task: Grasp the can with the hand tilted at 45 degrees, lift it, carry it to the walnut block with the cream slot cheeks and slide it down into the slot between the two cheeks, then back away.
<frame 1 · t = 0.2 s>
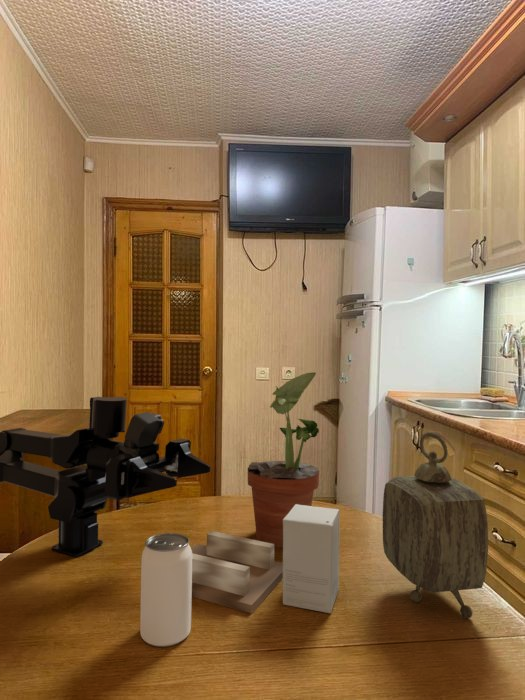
hand: (193, 475, 76), 17 cm above the table, tool horizontal, fingers open, 9 cm apart
supplement box: (311, 598, 71), on the table
slot block: (220, 577, 77), on the table
can: (165, 634, 62), on the table
tabletop clock: (427, 601, 71), on the table
potted plant: (282, 535, 95), on the table
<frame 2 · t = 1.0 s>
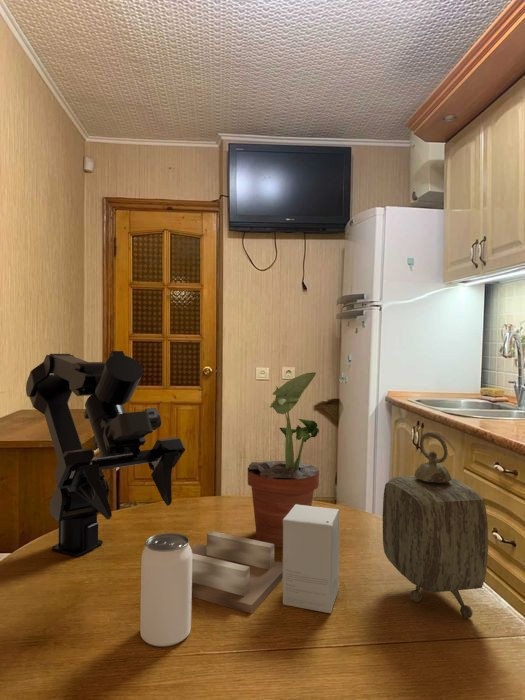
hand: (140, 510, 68), 14 cm above the table, tool tilted 45°, fingers open, 9 cm apart
nothing on the table moved.
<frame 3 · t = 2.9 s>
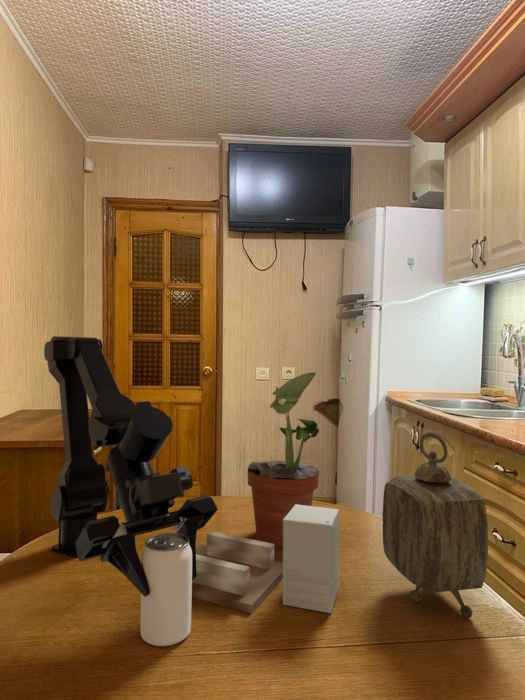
hand: (171, 586, 61), 7 cm above the table, tool tilted 45°, fingers closed on can, 6 cm apart
can: (165, 634, 62), on the table, touching gripper
everything else where it was.
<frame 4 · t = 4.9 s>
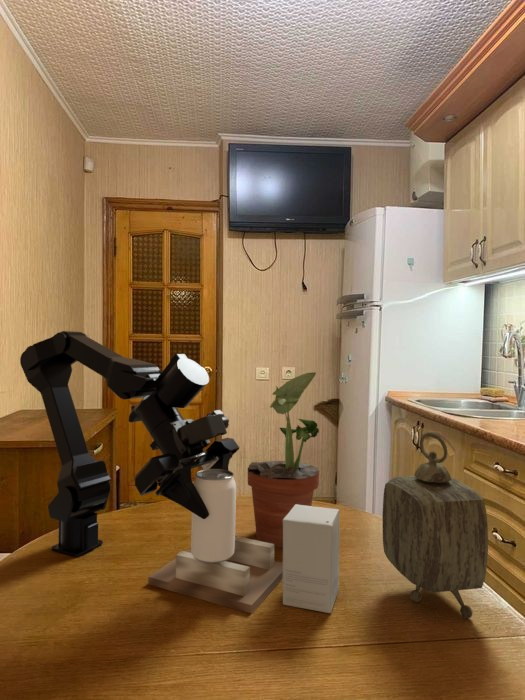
hand: (220, 510, 70), 13 cm above the table, tool tilted 45°, fingers closed on can, 6 cm apart
can: (212, 555, 71), point 6 cm above the table, touching gripper
everything else where it was.
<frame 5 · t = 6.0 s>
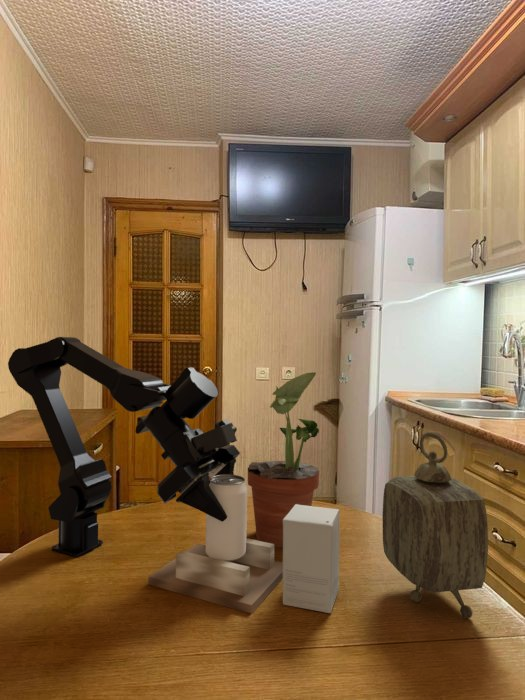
hand: (234, 512, 76), 11 cm above the table, tool tilted 45°, fingers closed on can, 6 cm apart
can: (225, 554, 77), point 4 cm above the table, touching gripper
everything else where it was.
when the fingers open (9 cm above the table, at t = 6.9 s): can stays where it is, resting on slot block.
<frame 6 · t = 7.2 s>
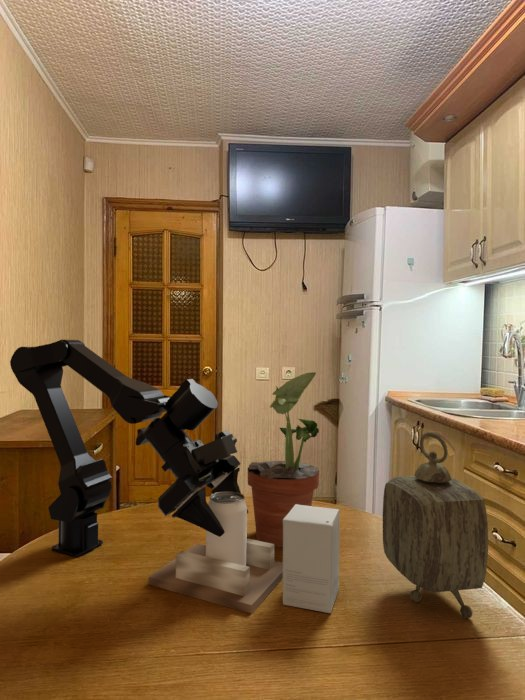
hand: (235, 524, 76), 9 cm above the table, tool tilted 45°, fingers open, 9 cm apart
can: (225, 572, 77), point 1 cm above the table, touching slot block
everything else where it was.
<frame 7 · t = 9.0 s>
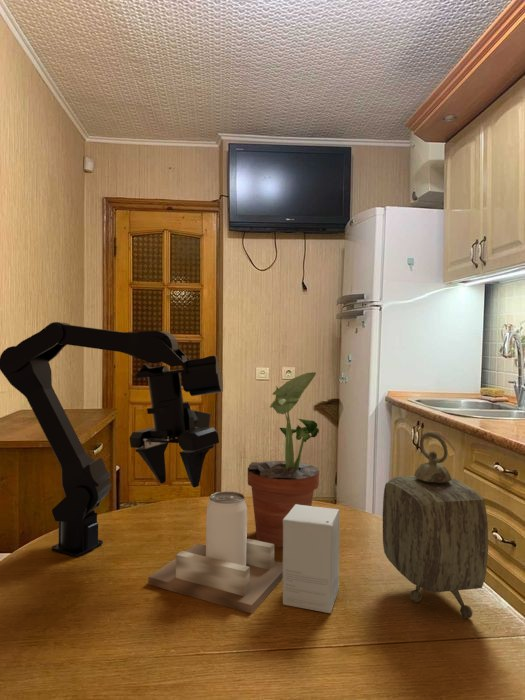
hand: (178, 484, 87), 12 cm above the table, tool pointing down, fingers open, 9 cm apart
nothing on the table moved.
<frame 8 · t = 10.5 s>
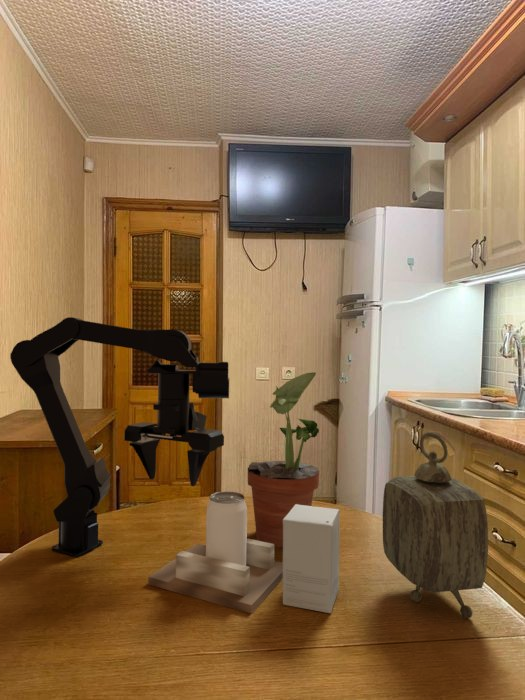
hand: (172, 482, 88), 12 cm above the table, tool pointing down, fingers open, 9 cm apart
nothing on the table moved.
at the end: can inside the target area on the slot block (0.1 cm from its centre), point 1.0 cm above the slot block's base; can tilted 0°; the gripper is holding nothing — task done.
